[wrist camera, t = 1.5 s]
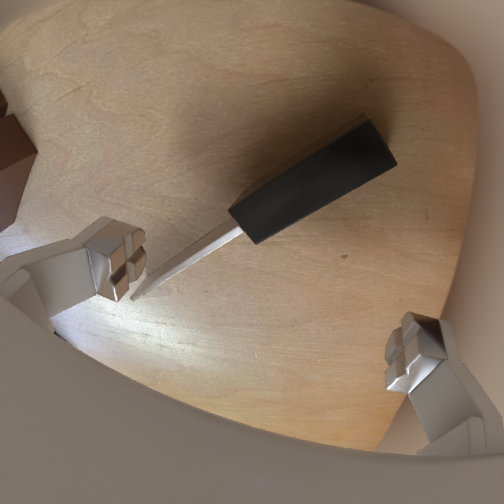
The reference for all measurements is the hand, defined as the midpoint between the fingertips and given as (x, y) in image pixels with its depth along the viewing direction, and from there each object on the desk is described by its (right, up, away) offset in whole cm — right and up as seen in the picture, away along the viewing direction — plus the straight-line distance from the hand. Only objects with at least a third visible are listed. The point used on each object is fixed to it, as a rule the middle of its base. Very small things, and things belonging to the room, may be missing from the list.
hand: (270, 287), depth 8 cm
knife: (-2, +3, +12) cm, 12 cm away
